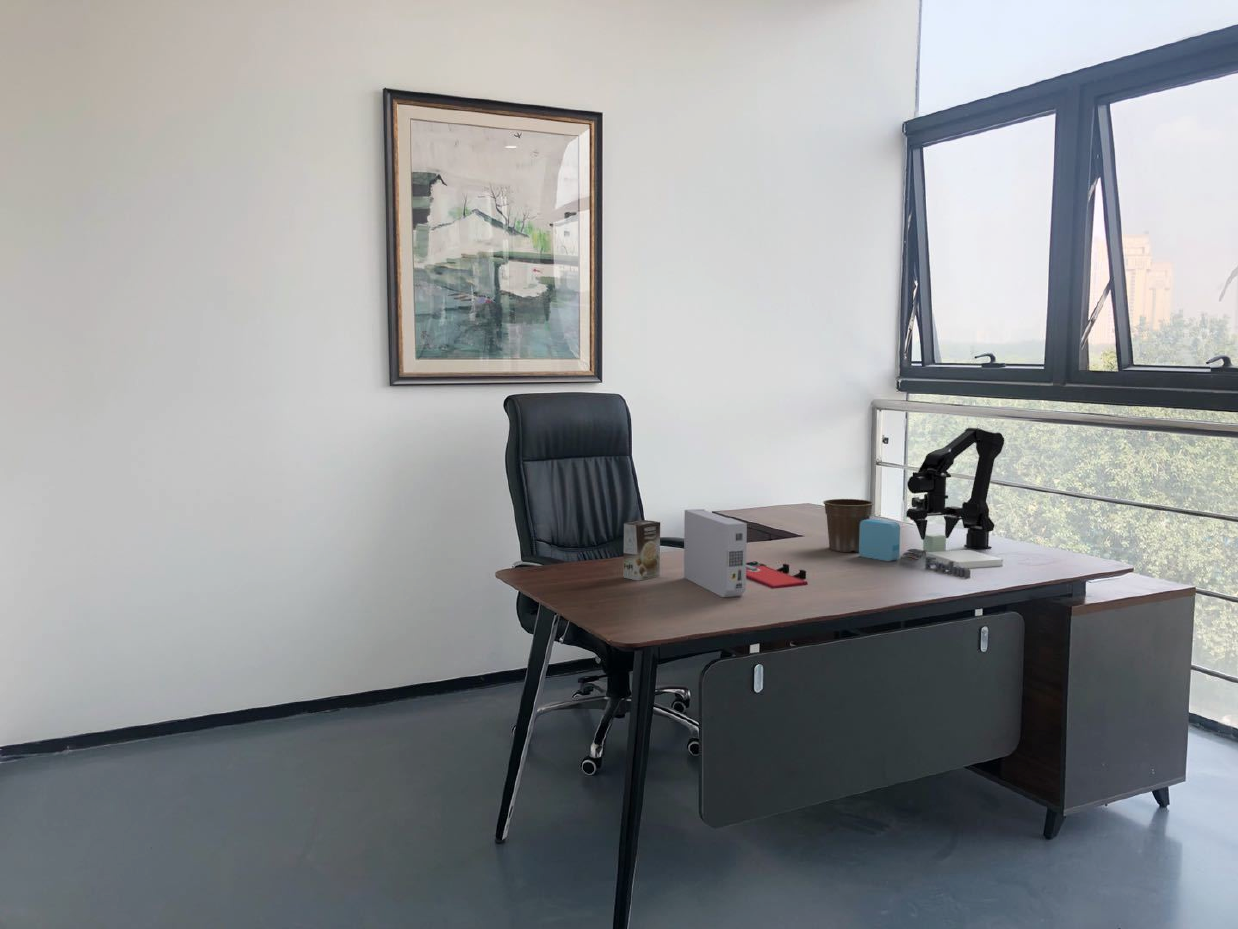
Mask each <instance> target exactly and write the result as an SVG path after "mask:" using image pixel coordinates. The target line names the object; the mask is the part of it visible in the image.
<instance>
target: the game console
mask: <svg viewBox="0 0 1238 929" xmlns="http://www.w3.org/2000/svg"><path fill="white" fill-rule="evenodd" d="M683 519H684V520H683V521H684V522H683V524H684V529H683V530H684V531H683V532H684V534H683V536H684V537H683V538H684V542H683V543H684V546H683V578H684V579H686V580H688V581H689V582H692V583H694V584H695V585H698V586H700V587H702V588H703V589H706V590H707V591H709V592H712V593H713V594H715V595H718V596H720V597H721V598H732V597H742V596H743V595H744V593H745V591H746V589H747V578H746V562H747V542H748V541H747V533H748V532H747V530H748V526H747V525H748V523H746V522H743V521H740V520H737V519H735V518H732V517H726V516H723V515H720V514H717V513H713V512H710V511H708V510H706V509H703V508H702V509H701V508H696V509H695V508H694V509H693V508H692V509H684V518H683Z"/></svg>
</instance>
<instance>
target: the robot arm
mask: <svg viewBox="0 0 1238 929" xmlns="http://www.w3.org/2000/svg"><path fill="white" fill-rule="evenodd" d="M973 444H976V445H975V449H976V452H977V455H978V460H977V465H976V470H975V473H974V481H973V485H972V489H971V493H970V498H969V499H968V500H967V501H963V502H962V504H961V507H960V506H954V505H953V506H952V505H951V506H946V500H947V499H949V495H947V493H946V492H947V491H946V490H947V478H951V477H952V475H951V474H950V473H949V472H948V471H949V469H950V468H951V467H952V466H953V465H954V462H955V459H956V458H957V457H958V456H959V455H961V454H962V453H963V452H965V451H966V450H968V449H969V448H970V447H971V446H972V445H973ZM1004 444H1005V437H1004V436H1003V434H1002V433H1001V432H998V431H997V432H996V431H989V430H984V429H982V428H980V427H968V428H965V430H964V431H963V432H962V433H961V434H960V435H958V436H957V437H956V438H954V439H953V440H952V441H951V442H949V443H948V444H946V445H945V446H944V447H941V448H939V449H935V450H932V451H931V452H929V453H927V454H926V455H925V458H924V459H923V462H922V464H921V465H920V467H919V469H918V471H913V472H912V475H911V476H910V477H909V479H908V481H907V489H908V491H909V492H910V493H912V494H923V493H924V494H923V498H920V496H919V497H918V496H917V497H916V496H915V497H912V498H911V507H912V508H908V509H907V510H906V515H905V516H906V518H909V519H910V520H911V521H913V522H914V524H915V525H916V527H917V530H918V533H919V536H920V539H921V540H924V539H925V534H926V533H927V526H928V519H926V518H927V517H932V516H933V517H934V516H943V518H944V521H945V522H944V523H945V524H944V526H945V527H944V536H946V539H949V538H950V536H951V535H952V532H953V531H954V530H955V528H956V525H957V524H958V523H959V521H960V520H961V522H962V526H963V529H967V532H966V535H965V536H966V538H965V544H963V546H964V547H966V548H970V549H973V550H984V549H985V550H986V549H992V546H990V545H989V538H990V532H993V531H994V528H995V525H996V524H995V523H994V522H993V520H992V519H991V518H990V514H989V513H990V507H989V505H988V503H987V498H988V494H989V488H990V483H991V478H992V473H993V467H994V463H995V460H996V458H997V457H998V456H999V455H1000V454H1001V453H1002V450H1003V447H1004Z"/></svg>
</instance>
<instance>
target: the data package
mask: <svg viewBox="0 0 1238 929" xmlns="http://www.w3.org/2000/svg"><path fill="white" fill-rule="evenodd" d="M900 542H901V526H900V523H898V522H896V521H889V520H883V519H877V518H876V519H875V518H870V519H867V520H863V521H861V522H860V534H859V552H858V553H859V554H858V555H859V556H860V557H862V558H866V559H871V558H873V559H872V560H877V559H878V560H877V561H883V562H891V561H892V562H893V561H895V560H898V558H899V557H900V546H901V545H900Z"/></svg>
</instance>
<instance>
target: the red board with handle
mask: <svg viewBox="0 0 1238 929" xmlns="http://www.w3.org/2000/svg"><path fill="white" fill-rule="evenodd" d="M798 571H799V572H798V573H796V574H793V575H790V565H789V564H788V563H782V567H780V568H777V569H774V568H771V567H769V566H767V565H766V564H764V563H762V562H758V561H754V560H753V561H748V562H747V561H746V579H748V580H750V581H753V582H756V583H758V584H761V585H763V586H766V587H769V588H772V589H781V588H790V587H799V586H806V585H807V586H808V583H809V582H808V581H806V580H807V570H805V569H799V570H798Z"/></svg>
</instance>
